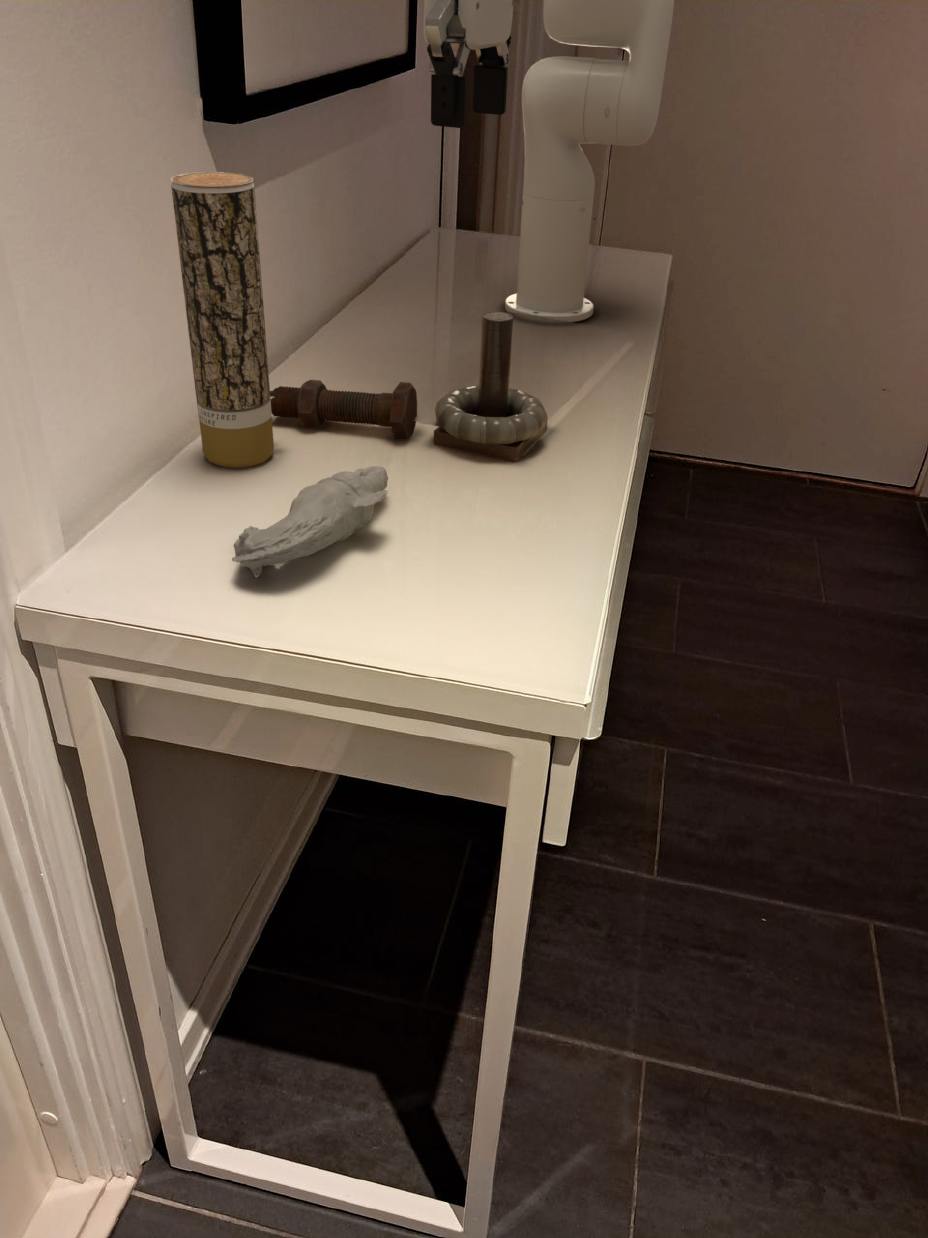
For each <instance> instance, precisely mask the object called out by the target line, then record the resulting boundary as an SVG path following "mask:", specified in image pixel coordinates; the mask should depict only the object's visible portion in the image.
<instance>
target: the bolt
mask: <svg viewBox="0 0 928 1238" xmlns="http://www.w3.org/2000/svg"><path fill="white" fill-rule="evenodd" d="M417 395H418V394H417V390H416V388H415V387H414V385H413V384H412V383H411V382H404V381H400V382H399V383H398V384H397V385H396V387H395V389H393V391H392V393H391V392H379V393H378V392H376V393H375V392H365V391H364V392H363V391H350V390H348V391H347V390H337V389H336V390H335V389H327V387H326V384H324V383H323V382H322V380H319V379H308V380H305V382H303V383H301V386H300V387H297V386H292V387H291V386H284V385H283V386H281V385H279V386H278V387H275V388H273V390H270V398H271V397H272V398H271V412H272V416H273V417H276V418H286V419H298V420H299V422H300V423H301V424H302V425H303V426H304V427H305V428H306V429H313V430H317V429H319V428H320V427H322V426H324V424H325V422H333V423H334V422H336V423H345V424H346V423H350V424H358V425H359V424H360V425H369V426H371V425H372V426H379V427H384V428H391V431H392V435H393V439H394V440H395V441H396V440H398V441H406V440H408V439H410V438H412V436H413V435H414V431H415V429H416V425H417V420H416V419H417V418H418V396H417Z"/></svg>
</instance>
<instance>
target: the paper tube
mask: <svg viewBox="0 0 928 1238" xmlns="http://www.w3.org/2000/svg"><path fill="white" fill-rule="evenodd" d="M170 180H171V186H170V187H171V195H172V203H173V211H174V220H175V229H176V238H177V246H178V254H179V255H178V256H179V262H180V263H179V264H180V271H181V280H182V281H181V282H182V288H183V297H184V304H185V305H184V306H185V313H186V322H187V330H188V331H187V332H188V338H189V346H190V347H189V348H190V356H191V365H192V373H193V381H194V391H195V399H196V407H197V413H198V415H197V416H198V420H199V421H198V423H199V429H200V439H201V448H202V452H203V456H204V457H205V458H206V459H207V460H208V461H209V462H210V463H212V464H214V465H217V466H220V467H223V468H224V467H225V468H248V467H252V466H256V465H260V464H261V463H264V462H265V461H266V460H268V459H270V457H271V456H272V455H273V453H274V449H275V445H274V431H273V417H272V416H273V414H272V412H271V399H272V398H271V397H270V391H271V388H270V386H271V385H270V373H269V360H268V359H269V358H268V347H267V333H266V332H267V331H266V322H265V308H264V307H265V306H264V295H263V293H264V292H263V281H262V268H261V256H260V255H261V254H260V242H259V229H258V228H259V226H258V217H257V216H258V215H257V202H256V201H257V200H256V189H255V188H256V187H255V186H256V185H255V183H254V178H253V177H252V176H250V175H247V174H244V173H243V174H242V173H238V172H237V173H236V172H225V171H223V172H222V171H200V172H199V171H197V172H188V173H182V174H177V175H174V176H172V177H171V178H170Z"/></svg>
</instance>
